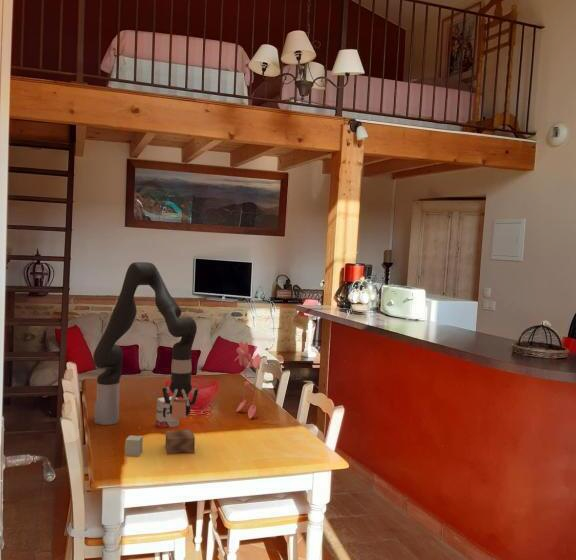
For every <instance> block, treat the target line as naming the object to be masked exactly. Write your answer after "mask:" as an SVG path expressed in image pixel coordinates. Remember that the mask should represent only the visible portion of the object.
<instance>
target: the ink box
mask: <svg viewBox="0 0 576 560" xmlns="http://www.w3.org/2000/svg"><path fill="white" fill-rule="evenodd" d="M171 398H172V396H169V400H171ZM176 399H179V397H176ZM179 420H180V418H172V415H171V413H170V405H169V404H168V403H165V400H164V397H158V398H157V399H156V418H155V425H156V427H158V428H160V429H165V428H174V427H178V426H179V422H180V421H179Z"/></svg>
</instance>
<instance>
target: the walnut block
mask: <svg viewBox="0 0 576 560" xmlns="http://www.w3.org/2000/svg"><path fill="white" fill-rule="evenodd" d="M195 445H196V438H195V435H194V433H193V430H192V429H183V430H181V429H178V430H165V450H166V455H181V454H182V455H183V454H195Z"/></svg>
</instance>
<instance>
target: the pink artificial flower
mask: <svg viewBox="0 0 576 560" xmlns="http://www.w3.org/2000/svg"><path fill="white" fill-rule="evenodd" d="M238 345H239V346H238V347H237V348H236V353H237V354H238V355H237V357H236V358H235V359H234V360H233V362H235V361H237V360H238V361H239V362H238V363H239V366H241V367H242V366H243V367H244V368H245V369H244V370H243V371H244V378H245V382H244V386H243V396H246V395H245V394H246V393H245V390H246V389H245V388H249V389H251V390H252V391H253V392H254V393H255V394H254V399H253V403H252V405H250V407H248V405H247V400H246V399H243V401H241V403H240V404H239V405H238V407H237V408H236V411H235V412H236V413H238V412H239V411H240V410H242V409H244V406H245V409H246V410H247V415H248V418H249V420H251V419H252V418H253V417H254V416H255V415H256V417H257V419H258V418H259V415H258V412H257V406H256V404H255V403H256V402H255V401H256V397H257V391H256V390H254V389H253V388H252V387H251V382H250V381H248V379H247V374H246V373H247V370H249V369H251V368H252V367H253V368H255V369H258V370H260V369H261V368H260V363H261V359H262V357H261V355H260V354H259V353H257V354H256V355H255V356H254V358H253V359H252V354H251V353H250V352H249V351H250V350H249V343H248V341H245V342H244V341H243V340H240V341H239V343H238ZM227 419H228V420H229V418H227V417H226V420H227ZM231 421H233V422H237V423H239V421H237V420H233V419H231Z"/></svg>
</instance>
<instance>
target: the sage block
mask: <svg viewBox="0 0 576 560" xmlns="http://www.w3.org/2000/svg"><path fill="white" fill-rule="evenodd" d="M143 438H144V436H143V435H131V434H130V435H128V437H126V439H125V445H124V457H125V456H126V457H140V455H141V454H142V453H143V442H144V441H143V440H144V439H143Z"/></svg>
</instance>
